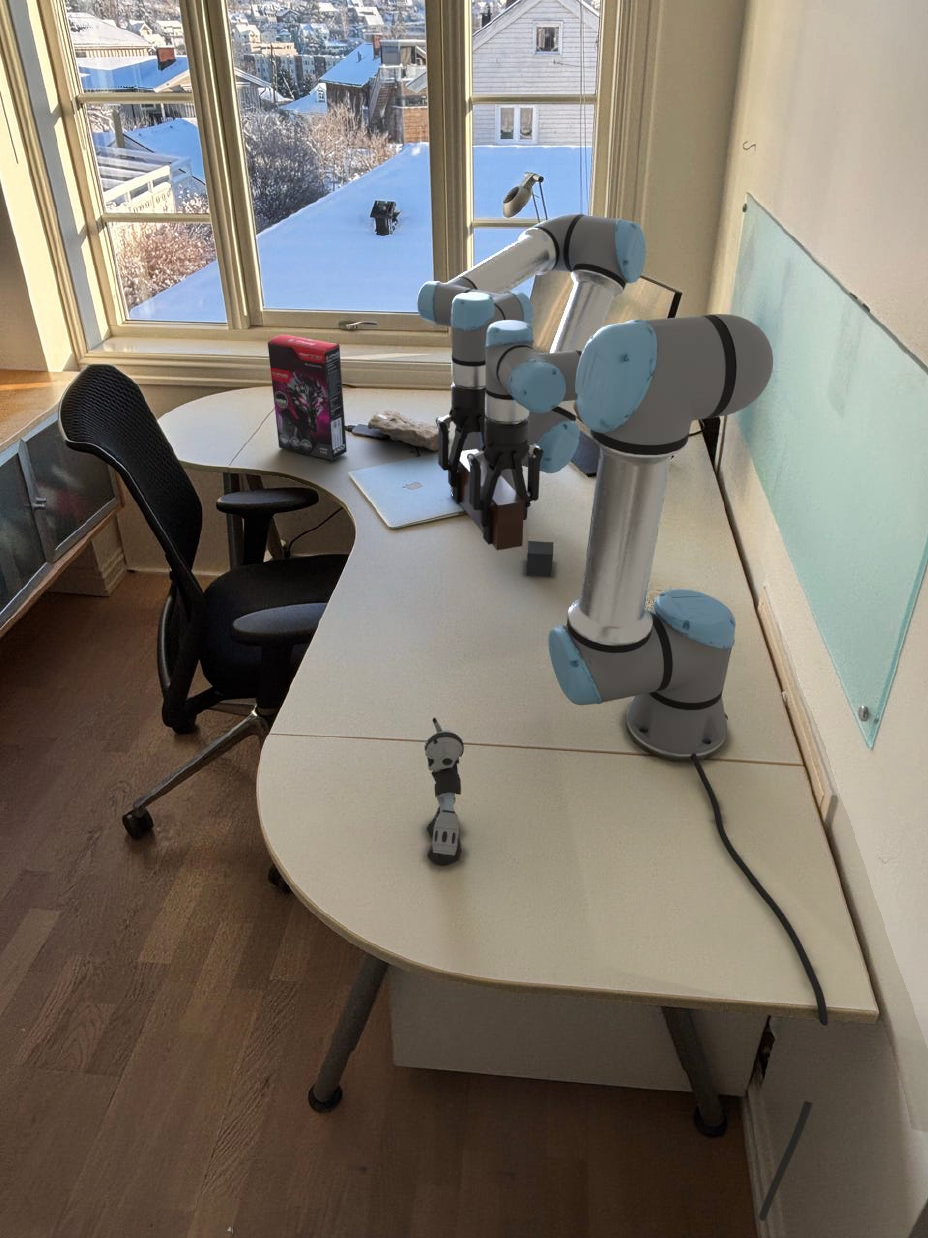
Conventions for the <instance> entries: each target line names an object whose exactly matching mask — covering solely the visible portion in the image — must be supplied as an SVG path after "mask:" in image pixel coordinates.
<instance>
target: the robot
mask: <svg viewBox="0 0 928 1238" xmlns="http://www.w3.org/2000/svg"><path fill="white" fill-rule="evenodd" d="M432 723H433V725H434V728H435V731H436V733H434V734H432V735H431V736H430V737H429V738H428V739H426V742H425V745H424V747H423V749H424V752H425V753H424V755H425V757H426V758H427V769H428V770H429V771H430V772H431V776H432V779H433V780H434V782H435V783H434V797H435V798H436V800H437V803H438V805H439V806H438V808H437V810H436V811H435V814H434V817H433V819H432V820H431V821H430V822H429V823H428V825H427V827H426V830H427V833H428V835H429V837H430V838H432V841H431V846H430V847H429V850H428V852H427V858H428V860H430V861H431V862H432V864H434V865H437V866H441V867H442V866H448V865H450V864H453V863H455V862H457V861H459V860H460V856H461V854H462V846H461V841H460V837H459V836H460V833H461V830H460V820H459V815H458V813H456V811H455V807H454V805H455V803H456V795H457V796H459V795H462V782H461V781H462V780H461V776H460V774H459V769H458V768H459V767H458V765H459V764H460V758H462V755H463V754H464V749H465V746H464V745H465V744H464V741H463V739H462V738H461V737H460V736H459V734H457V733H455V732H453V731H451V730H443V729H442V727H441V725H440V723H439V721H438V720H437V718H436V717H433V718H432Z"/></svg>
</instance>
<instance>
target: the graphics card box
mask: <svg viewBox="0 0 928 1238" xmlns="http://www.w3.org/2000/svg"><path fill="white" fill-rule="evenodd" d="M340 347H341V346H340V343H335V342H333V343H332V342H328V341H322V340H317V339H311V338H306V337H300V336H295V335H289V334H285V333H282V334H279V335H277V336H274V337H273V338H271V339H270V340H268V341H267V351H268V359H269V367H270V369H269V370H270V377H271V378H270V379H271V385H272V386H271V387H272V395H273V403H274V412H275V413H274V414H275V423H276V433H277V441H278V442H277V443H278V448H279V449H283V450H287V451H288V450H289V451H292V452H297V453H301V454H305V455H309V456H314V457H317V458H322V459H326V460H330V461H333V460H335V459H337V458H339V457H340V456H342V455H344V454H345V453H347V451H348V449H347V447H348V446H347V434H346V420H345V407H344V406H345V405H344V393H343V380H342V364H341V363H342V362H341V349H340Z"/></svg>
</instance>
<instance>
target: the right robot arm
mask: <svg viewBox="0 0 928 1238" xmlns="http://www.w3.org/2000/svg"><path fill="white" fill-rule="evenodd" d="M534 344H535V340H534V329H533V327H532V325H531V324H530V325H529V324H527V323H525V322H522V321H515V320H505V321H498V322H495V323H493V324H491V325H490V326H489V327H488V329H487V337H486V345H485V349H486V368H485V415H486V417H485V419H484V445H483V447H482V449H481V451H480V452H478V453H476V454H474V455H473V454H472V453H469V454H468V455H467V459H468V462H469V465H470V480H469V503H470V505H471V506H472V507H473V509H474V510H479V523H480V524H481V526H482V527H484V530H483V532H482V534H483V535H482V539H483V540H485V542H486V543H487V544H488V545H489V546H490V545H492V543H493V511H492V510H491V508H490V505H491V502H492V498H493V495H494V491H495V488H496V484H497V481H498V477H500V475H501V472H502V471H503V470H505V469H511V471H512V475H513V479H514V484H515V488H516V492H517V494H518V495H519V496H520V497H521V498H522V499H523V500H524V521H527V519H528V510H529V508H530V507H531V505H532V502H536V501H538V500H539V497H540V496H539V494H540V472H541V471H540V461H541V458H542V456H543V453H544V451H543V449H542V448H540V447H539V446H538V445H537V444H534V445H529V443H528V440H527V439H528V430H529V419H528V418H527V417H528V416H529V411H531V412H533V413H547V412H549V411H550V410H552V409H554V408H555V407H557V406H558V405H559V404H560V403H561V402H563V401H572V400H575V403H576V408H577V412H578V415H579V417H580V420H581V422H582V423H583V424H584V426H585V427H586V428H587V429H589V435H590V437H591V439H592V440H593V442H595V443H596V444H597V445H598V447H599V454H598V455H599V456H598V463H597V470H596V476H595V477H596V478H595V487H594V494H593V500H592V508H591V510H592V511H591V517H590V525H589V526H590V527H589V532H588V540H587V549H586V556H585V564H584V574H583V579H582V588H581V593H580V594H581V595H580V597H579V598H577V599H575V600H574V601H573V602H572V603H571V604H570V606H569V608H568V612H567V618H566V624H563V625H562V624H558V625H557V626H555V627H553V628H552V629H550V631H549V634H548V652H549V657H550V661H551V665H552V670H553V673H554V675H555V678H556V680H557V683H558V685H559V687H560V689H561V691H562V693H563V694H564V696H565V697H566V698H567V700H568V701H569V702H571V703H572V704H574V705H576V706H589V705H601V704H603V703H608V702H612V701H618V700H622V699H627V698H632V697H633V699H632V701H631V702H630V704H629V706H628V708H627V711H626V719H625V728H626V732H627V734H628V736H629V738H630V739H631V741H632V742H634V744H636V745H637V746H638V747H639V748H640V749H641V750H643V751H645V752H646V753H648V754H650V755H651V756H654V757H656V758H659V759H662V760H666V761H670V762H675V763H692V764H693V765H694V768H695V770H696V772H697V774H698V777H699V778H700V781H701V783H702V785H703V788H704V789H705V791H706V793H707V796H708V798H709V801H710V803H711V807H712V811H713V816H714V821H715V825H716V830H717V833H718V835H719V838H720V840H721V842H722V844H723V845H724V847H725V849H726V850H727V853H728V854H729V855H730V857H731V858H732V860H733V861H734V863H735V864H736V865H737V866H738V868H739V869H740V871H741V872H742V873H743V875H744V876H745V877H746V879H747V880H748V881H749V883H750V884H751V885H752V887H753V888H754V890H755V891H756V892H757V893H758V894H759V896H760V897H761V898H762V899H763V900H764V902H765V903H766V904H767V905H768V907H769V908H770V910H771V911H772V912H773V913H774V915H775V916H776V917H777V919H778V921H779V922H780V924H781V926H782V927H783V929H784V930H785V932H786V934H787V935H788V937H789V939H790V940H791V943H792V944H793V946H794V948H795V951H796V952H797V954H798V957H799V959H800V961H801V964H802V966H803V969H804V971H805V973H806V976H807V978H808V980H809V983H810V985H811V987H812V990H813V994H814V997H815V1001H816V1006H817V1012H818V1013H817V1014H818V1021H819V1023H820V1025H822V1026H825V1027H826V1026H828V1025H829V1018H828V1010H827V1004H826V999H825V996H824V992H823V990H822V986H821V984H820V982H819V979H818V977H817V974H816V972H815V970H814V968H813V965H812V963H811V961H810V959H809V957H808V954H807V951H806V949H805V948H804V946H803V944H802V942H801V940H800V938H799V937H798V935H797V932H796V931H795V929H794V928H793V925H792V924H791V923H790V921H789V920H788V918H787V916H786V915H785V914H784V912H783V911H782V909H781V908H780V907H779V905H778V904H777V902H776V901H775V900H774V899H773V898H772V896H771V895H770V894H769V892H768V891H767V890H766V889H765V887H763V885H762V884H761V883H760V882H759V880H758V879H757V878H756V876H755V874H754V873H753V872H752V871H751V869H750V868H749V867H748V866H747V864H746V863H745V861H743V859H742V857H741V856H740V855H739V854H738V852H737V851H736V849H735V848H734V846H733V844H732V843H731V841H730V839H729V837H728V834H727V832H726V830H725V827H724V822H723V818H722V812H721V808H720V805H719V802H718V798H717V796H716V794H715V791H714V789H713V787H712V786H711V783H710V781H709V779H708V776H707V775H706V772H705V770H704V768H703V766H702V764H701V762H700V761H703V760H706V759H709V758H711V757H714V755H716V754H718V752H720V751H721V750H722V748H723V747H724V744H725V743H726V740H727V739H726V738H727V734H728V721H729V717H728V715H727V713H726V712H725V708H724V707H725V706H724V701H723V692H724V686H725V682H726V678H727V672H728V668H729V663H730V658H731V654H732V651H733V650H732V649H733V647H734V645H735V642H736V641H735V635H736V617H735V616H734V614H733V612H732V611H731V609H730V608H729V607H728V606H727V605H726V604H725V603H723V602H722V601H720V600H719V599H717V598H715V597H713V596H711V595H709V594H706V593H703V592H701V591H697V590H692V589H683V588H675V589H674V588H673V589H667V590H665V591H663V592H661V593H660V594H659V595H658V596H657V597H656V599H655V600H654V602H653V609H650V610H649V609H648V608H647V607H646V601H647V595H648V591H649V590H648V589H649V585H650V579H651V573H652V568H653V562H654V558H655V557H654V556H655V551H656V545H657V541H658V534H659V530H660V524H661V519H662V513H663V505H664V501H665V496H666V490H667V485H668V479H669V474H670V468H671V463H672V457H673V456H674V455H676V454H678V453H680V452H681V451H683V450H684V449H685V448H686V446H687V444H688V443H689V437H690V431H691V427H692V423H693V422H694V421H700V420H707V419H714V418H720V417H724V416H728V415H732V414H735V413H737V412H739V411H741V410H743V409H745V408H747V407H749V406H750V405H751V404H753V403H754V402H755V401H756V400H757V399H758V398H759V397H760V396H761V395H762V394H763V393H764V390H766V388H767V386H768V384H769V382H770V379H771V378H772V373H773V369H774V354H773V348H772V345H771V342H770V341H769V339H768V337H767V336H766V334H765V332H764V331H763V330H762V329H761V328H760V327H759V326H758V325H756V324H755V323H754V322H752V321H751V320H748V319H746V318H744V317H741V316H738V315H733V314H727V313H711V314H705V315H693V316H682V317H681V316H680V317H669V318H655V319H642V318H641V319H640V318H636V319H631V320H627V321H624V322H621V323H613V324H608V325H605V326H603V327H602V328H601V329H599V330H598V331H597V332H596V333H595V334H594V335H593V336H592V337H591V338H590V339H589V341H588V342H587V344H586V346H585V347H584V349H583V350H574V351H562V352H552V353H550V352H543V353H541V352H538V351H537V350H536V349H534V347H533V346H534ZM527 453H528V456H529V458H528V467H527V484H526V481H525V478H524V469H523V466H522V464H521V461H522V460H523V458H524V457H525V455H526V454H527ZM484 458H486V459H487V461H488V465H487V474H486V477H485V481H484V485H483V488H482V492H481V467H480V466H482V463H483V459H484ZM526 485H527V486H526ZM480 493H481V496H480ZM812 1106H813V1102H811V1101H806V1100H803V1103H802V1107H801V1111H800V1113H799V1116H798V1119H797V1121H796V1125H795V1127H794V1129H793V1132H792V1135H791V1137H790V1139H789V1142H788V1144H787V1147H786V1149H785V1150H784V1151H785V1152H784V1154H783V1156H782V1158H781V1160H780V1162H779V1165H778V1167H777V1169H776V1172H775V1174H774V1176H773V1179H772V1181H771V1184H770V1186H769V1189H768V1191H767V1193H766V1195H765V1196H766V1197H765V1199H764V1201H763V1204H762V1206H761V1209H760V1212H759V1215H758V1219H759V1220H760V1221H761V1222H765V1221H766V1220H767V1217H768V1214H769V1212H770V1209H771V1206H772V1204H773V1202H774V1199H775V1197H776V1194H777V1193H778V1190H779V1187H780V1185H781V1183H782V1181H783V1179H784V1176H785V1174H786V1172H787V1169H788V1167H789V1164H790V1162H791V1160H792V1158H793V1156H794V1153H795V1151H796V1149H797V1147H798V1144H799V1142H800V1139H801V1137H802V1135H803V1131H804V1129H805V1127H806V1124H807V1121H808V1118H809V1116H810V1112H811V1110H812V1108H813V1107H812Z"/></svg>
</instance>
